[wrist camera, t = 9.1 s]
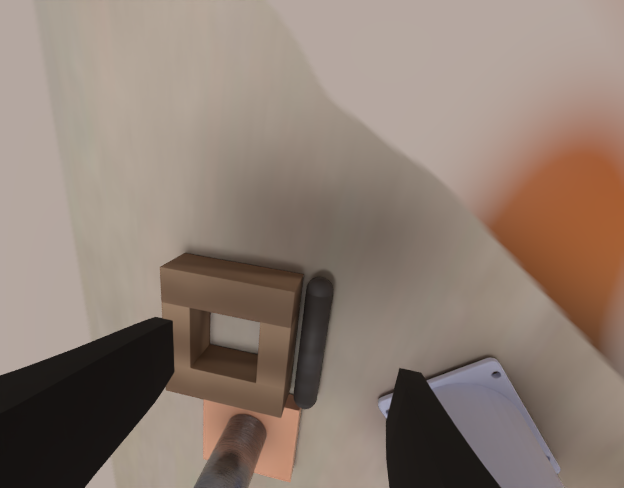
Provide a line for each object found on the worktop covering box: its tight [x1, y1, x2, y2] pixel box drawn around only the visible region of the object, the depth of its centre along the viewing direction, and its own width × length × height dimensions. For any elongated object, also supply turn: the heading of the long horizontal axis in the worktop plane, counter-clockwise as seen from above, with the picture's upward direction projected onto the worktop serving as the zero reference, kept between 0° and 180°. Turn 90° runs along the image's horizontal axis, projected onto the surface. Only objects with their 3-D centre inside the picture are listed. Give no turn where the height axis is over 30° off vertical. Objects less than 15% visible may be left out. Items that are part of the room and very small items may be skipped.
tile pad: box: [203, 394, 302, 482], centre depth 22 cm, size 7×7×1 cm
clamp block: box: [160, 253, 333, 418], centre depth 19 cm, size 10×10×2 cm
